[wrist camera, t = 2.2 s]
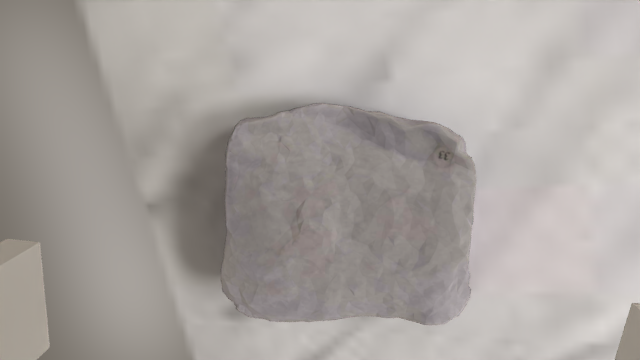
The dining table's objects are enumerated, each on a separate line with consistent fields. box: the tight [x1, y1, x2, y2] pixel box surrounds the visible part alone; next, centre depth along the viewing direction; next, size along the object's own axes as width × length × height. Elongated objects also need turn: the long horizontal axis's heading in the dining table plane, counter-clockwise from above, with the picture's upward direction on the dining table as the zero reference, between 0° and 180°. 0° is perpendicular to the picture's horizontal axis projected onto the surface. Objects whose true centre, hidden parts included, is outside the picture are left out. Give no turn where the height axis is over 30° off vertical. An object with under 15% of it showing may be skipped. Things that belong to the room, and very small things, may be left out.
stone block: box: [221, 103, 476, 325], centre depth 21 cm, size 12×5×10 cm
